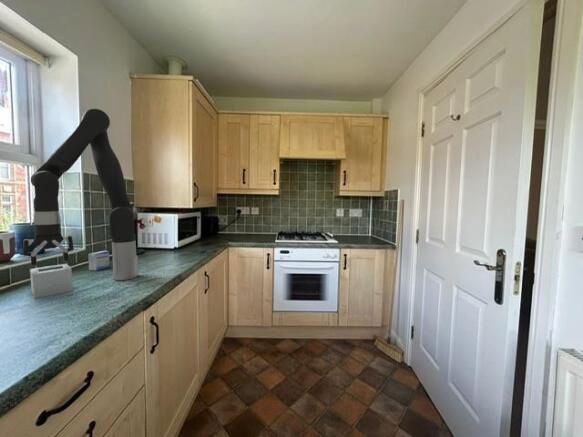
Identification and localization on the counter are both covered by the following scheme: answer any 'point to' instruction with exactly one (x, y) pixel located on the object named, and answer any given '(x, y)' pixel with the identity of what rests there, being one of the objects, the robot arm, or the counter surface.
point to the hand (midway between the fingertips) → (50, 263)
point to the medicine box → (98, 260)
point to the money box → (51, 280)
